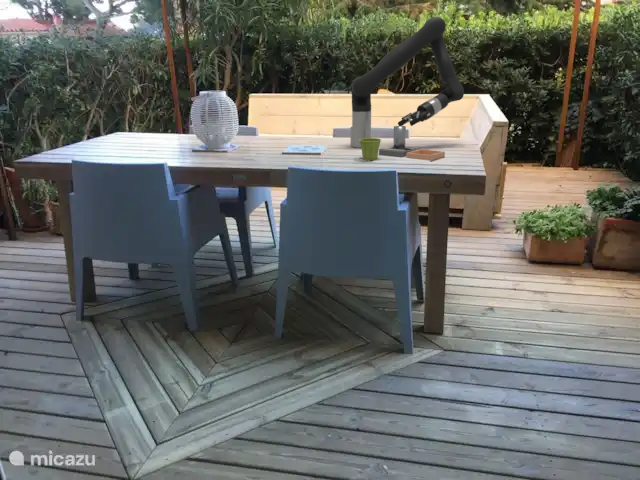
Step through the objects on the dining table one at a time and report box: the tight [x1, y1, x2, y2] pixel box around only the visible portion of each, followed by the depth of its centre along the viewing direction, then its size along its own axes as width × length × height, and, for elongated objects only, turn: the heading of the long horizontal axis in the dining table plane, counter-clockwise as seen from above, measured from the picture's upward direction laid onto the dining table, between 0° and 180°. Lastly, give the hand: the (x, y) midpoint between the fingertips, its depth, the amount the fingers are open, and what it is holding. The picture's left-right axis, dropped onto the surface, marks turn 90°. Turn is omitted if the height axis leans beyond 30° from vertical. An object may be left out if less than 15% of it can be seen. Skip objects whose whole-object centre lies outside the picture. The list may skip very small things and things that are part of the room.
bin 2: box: [405, 148, 446, 163], centre depth 235 cm, size 12×12×3 cm
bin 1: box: [378, 146, 417, 158], centre depth 244 cm, size 12×12×3 cm
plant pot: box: [359, 137, 382, 162], centre depth 234 cm, size 9×9×9 cm
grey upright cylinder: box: [392, 125, 407, 150], centre depth 243 cm, size 5×5×12 cm
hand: (404, 124), depth 249 cm, fingers open, 8 cm apart
